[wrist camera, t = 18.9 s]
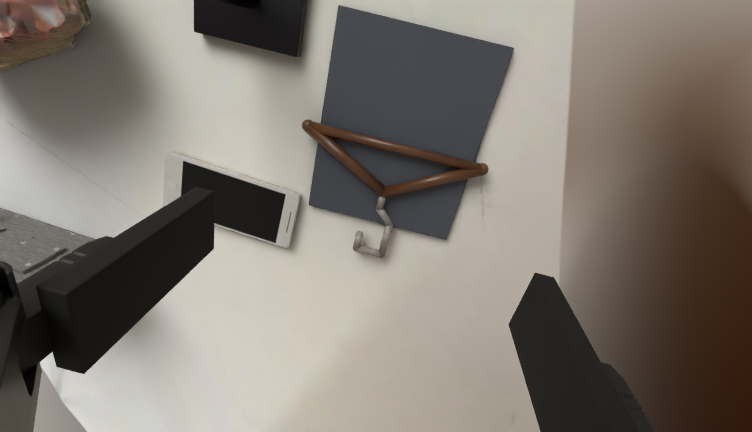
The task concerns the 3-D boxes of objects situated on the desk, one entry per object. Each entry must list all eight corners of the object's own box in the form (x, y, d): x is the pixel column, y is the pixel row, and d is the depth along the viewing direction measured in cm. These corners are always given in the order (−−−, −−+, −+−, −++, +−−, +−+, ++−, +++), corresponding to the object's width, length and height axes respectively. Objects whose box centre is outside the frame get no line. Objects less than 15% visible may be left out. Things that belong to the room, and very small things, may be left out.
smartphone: (170, 150, 40) (164, 152, 40) (302, 193, 41) (299, 197, 40) (167, 205, 43) (162, 208, 43) (290, 245, 44) (287, 249, 43)
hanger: (491, 166, 35) (449, 277, 41) (489, 163, 36) (448, 271, 42) (301, 119, 35) (286, 236, 41) (304, 117, 37) (289, 231, 42)
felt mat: (512, 48, 32) (514, 48, 32) (445, 237, 41) (446, 239, 40) (339, 5, 33) (338, 5, 32) (309, 203, 41) (308, 205, 41)
